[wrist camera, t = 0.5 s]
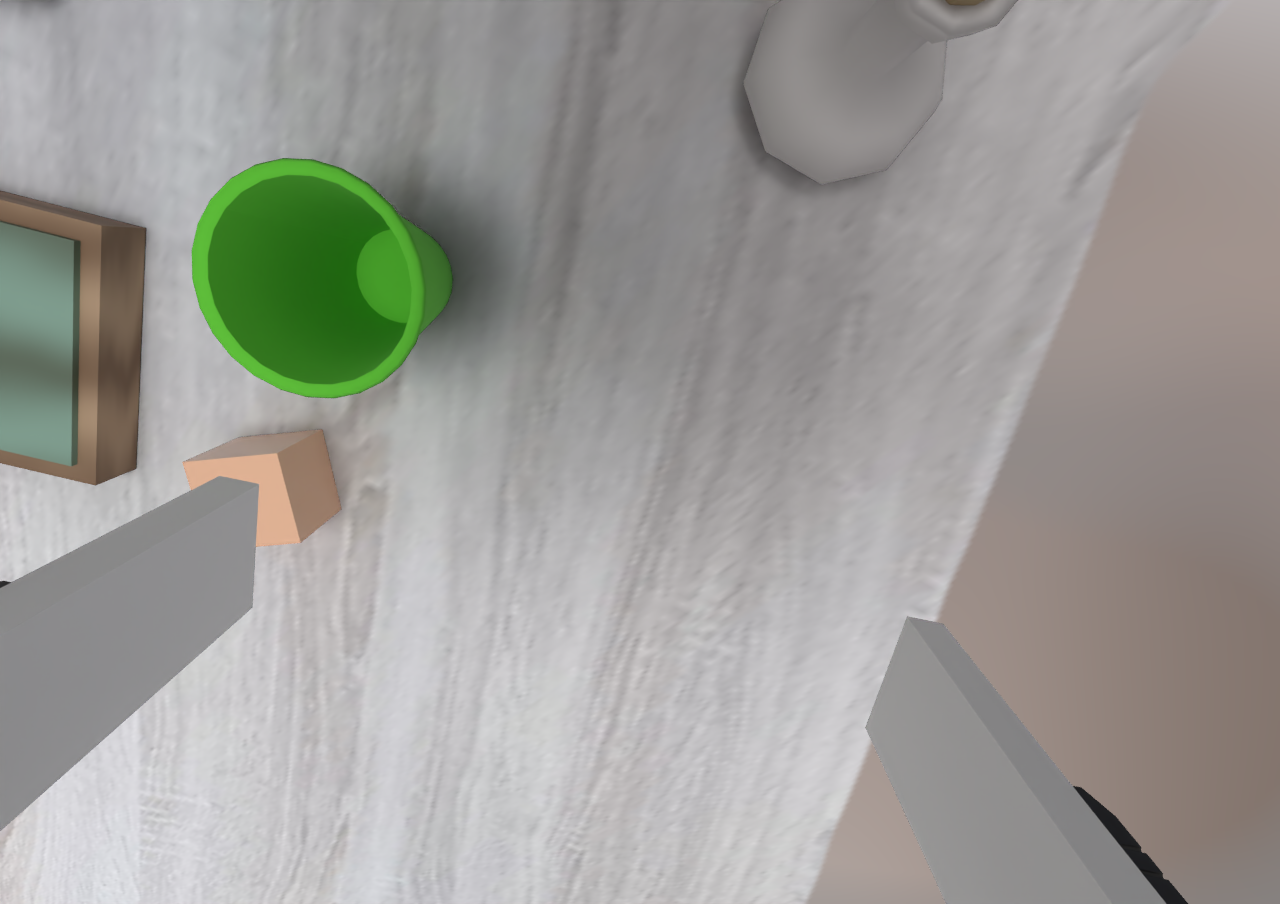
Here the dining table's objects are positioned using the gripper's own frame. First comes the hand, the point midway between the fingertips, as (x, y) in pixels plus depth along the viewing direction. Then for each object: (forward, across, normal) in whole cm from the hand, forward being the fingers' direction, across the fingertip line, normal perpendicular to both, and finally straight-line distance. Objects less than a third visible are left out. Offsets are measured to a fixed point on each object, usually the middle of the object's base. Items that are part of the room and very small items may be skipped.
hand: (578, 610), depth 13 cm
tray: (+25, -34, -4) cm, 43 cm away
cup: (+26, -13, +3) cm, 29 cm away
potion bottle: (+26, +7, +16) cm, 31 cm away
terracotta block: (+25, -18, -10) cm, 33 cm away
